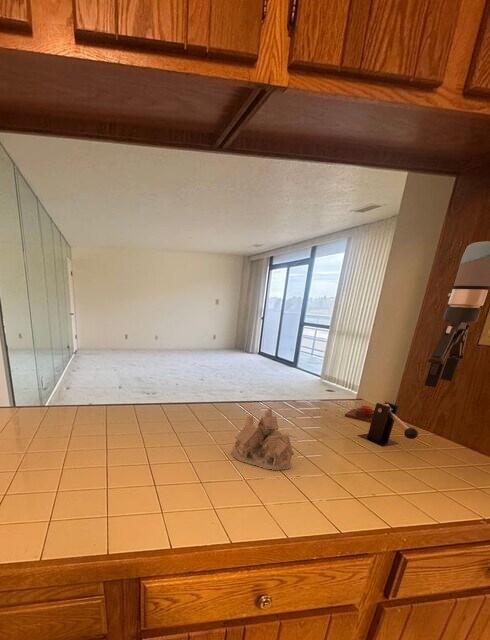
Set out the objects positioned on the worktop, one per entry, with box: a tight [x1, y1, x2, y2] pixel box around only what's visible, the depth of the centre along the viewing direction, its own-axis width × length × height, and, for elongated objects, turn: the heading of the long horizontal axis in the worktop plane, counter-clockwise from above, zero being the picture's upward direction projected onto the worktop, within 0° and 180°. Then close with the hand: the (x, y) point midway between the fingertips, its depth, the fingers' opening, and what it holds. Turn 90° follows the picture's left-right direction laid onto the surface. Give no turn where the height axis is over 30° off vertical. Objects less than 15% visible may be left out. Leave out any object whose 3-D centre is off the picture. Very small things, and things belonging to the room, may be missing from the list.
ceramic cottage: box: [230, 407, 295, 471], centre depth 103 cm, size 16×16×15 cm
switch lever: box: [382, 403, 419, 440], centre depth 112 cm, size 14×4×4 cm, turn 22°
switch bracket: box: [357, 401, 400, 448], centre depth 117 cm, size 10×8×14 cm
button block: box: [344, 407, 375, 424], centre depth 140 cm, size 12×10×4 cm
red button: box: [360, 405, 373, 413], centre depth 139 cm, size 4×4×2 cm
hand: (438, 383), depth 102 cm, fingers open, 13 cm apart
